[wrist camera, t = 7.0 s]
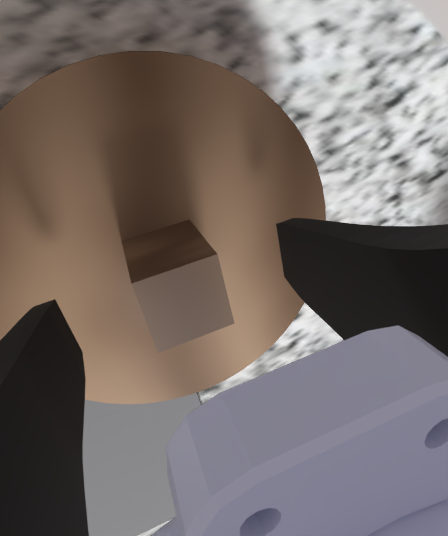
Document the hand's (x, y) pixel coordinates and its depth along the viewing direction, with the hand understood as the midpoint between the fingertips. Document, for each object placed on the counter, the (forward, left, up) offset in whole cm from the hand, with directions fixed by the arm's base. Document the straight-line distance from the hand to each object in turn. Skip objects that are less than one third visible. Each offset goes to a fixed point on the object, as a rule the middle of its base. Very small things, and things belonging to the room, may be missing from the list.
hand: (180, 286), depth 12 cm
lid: (0, 0, -4) cm, 4 cm away
